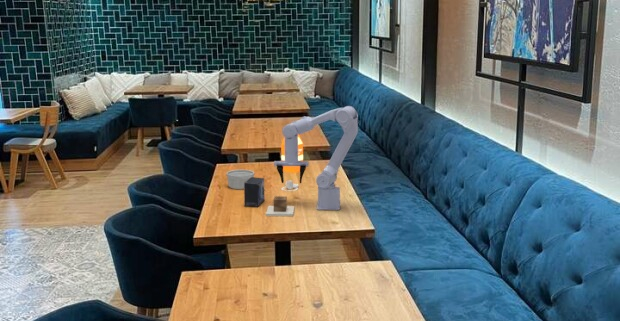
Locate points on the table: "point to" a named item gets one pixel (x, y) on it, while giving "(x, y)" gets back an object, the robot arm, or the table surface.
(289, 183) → the teacup and saucer
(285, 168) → the orange juice
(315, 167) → the table surface
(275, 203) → the walnut block
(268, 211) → the ceramic tile
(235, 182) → the ramekin
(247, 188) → the small box
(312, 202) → the table surface
